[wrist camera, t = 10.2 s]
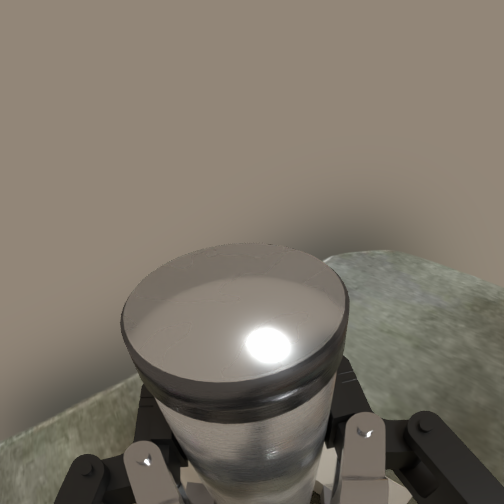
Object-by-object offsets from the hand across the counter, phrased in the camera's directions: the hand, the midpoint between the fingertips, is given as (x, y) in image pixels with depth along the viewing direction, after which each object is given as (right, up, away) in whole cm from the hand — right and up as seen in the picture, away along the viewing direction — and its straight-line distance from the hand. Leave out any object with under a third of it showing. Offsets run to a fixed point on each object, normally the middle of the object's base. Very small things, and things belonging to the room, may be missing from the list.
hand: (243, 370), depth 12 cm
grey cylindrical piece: (+1, -9, +2) cm, 9 cm away
